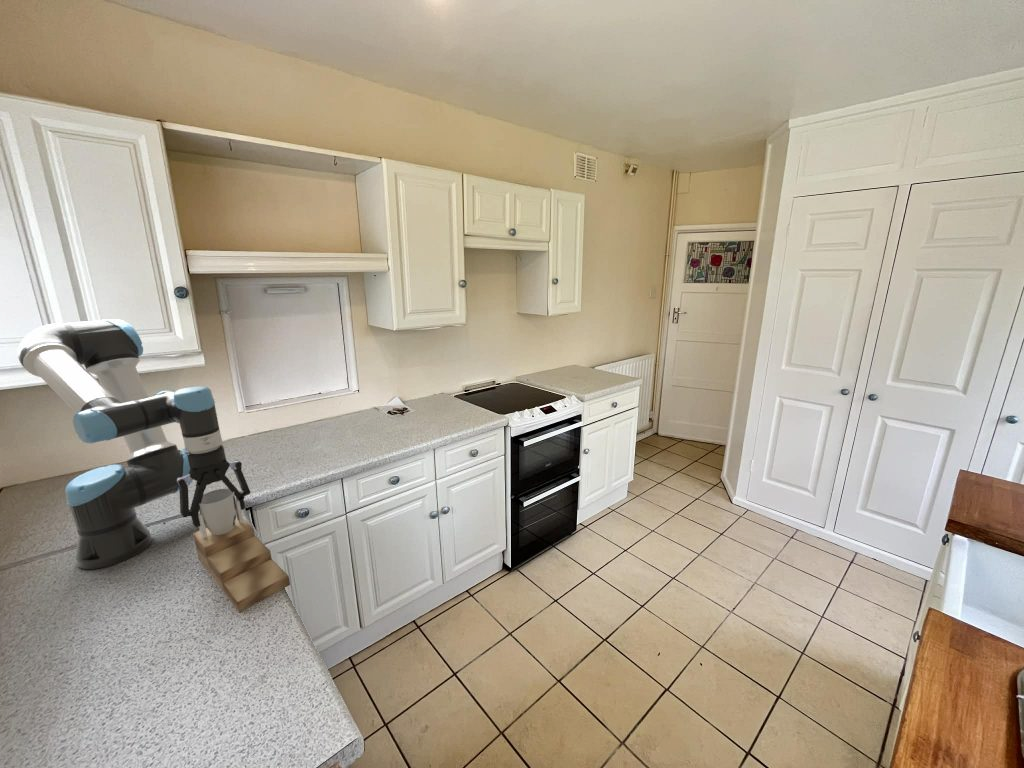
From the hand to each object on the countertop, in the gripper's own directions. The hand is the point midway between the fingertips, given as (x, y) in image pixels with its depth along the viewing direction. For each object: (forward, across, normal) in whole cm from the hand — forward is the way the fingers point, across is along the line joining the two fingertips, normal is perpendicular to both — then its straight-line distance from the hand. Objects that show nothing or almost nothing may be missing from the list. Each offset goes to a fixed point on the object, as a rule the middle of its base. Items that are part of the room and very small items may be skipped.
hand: (222, 528), depth 110 cm
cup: (+1, 0, 0) cm, 1 cm away
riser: (+8, 0, -10) cm, 13 cm away
